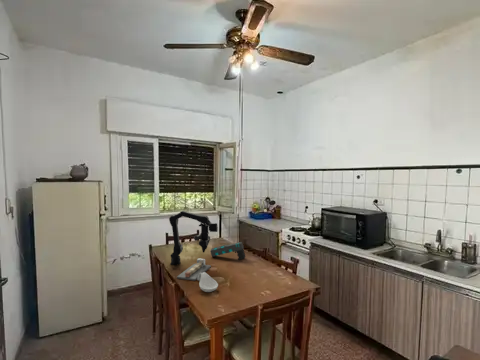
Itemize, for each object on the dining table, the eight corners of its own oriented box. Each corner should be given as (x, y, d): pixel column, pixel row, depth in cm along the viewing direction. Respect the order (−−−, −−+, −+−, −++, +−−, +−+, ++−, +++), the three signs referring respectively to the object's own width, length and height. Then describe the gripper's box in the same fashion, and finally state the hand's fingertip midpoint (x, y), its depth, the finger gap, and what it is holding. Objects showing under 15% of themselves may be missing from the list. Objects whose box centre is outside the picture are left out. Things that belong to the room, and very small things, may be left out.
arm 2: (200, 266, 202) (200, 263, 202) (201, 266, 202) (201, 263, 202) (186, 276, 181) (186, 273, 181) (188, 277, 181) (188, 273, 181)
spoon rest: (220, 292, 162) (220, 281, 161) (202, 296, 156) (202, 284, 156) (208, 278, 183) (208, 268, 183) (191, 281, 178) (191, 271, 177)
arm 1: (198, 265, 203) (198, 262, 203) (199, 266, 202) (199, 263, 202) (185, 276, 181) (185, 273, 181) (186, 276, 181) (186, 273, 181)
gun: (245, 258, 221) (240, 241, 222) (213, 266, 228) (209, 249, 229) (246, 256, 227) (241, 239, 228) (216, 263, 234) (211, 247, 235)
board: (176, 278, 182) (176, 276, 182) (194, 265, 209) (194, 263, 209) (195, 280, 178) (195, 278, 178) (210, 266, 205) (210, 265, 205)
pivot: (200, 264, 208) (201, 261, 208) (204, 264, 207) (204, 262, 207) (198, 266, 203) (198, 263, 203) (201, 266, 202) (201, 264, 202)
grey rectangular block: (198, 264, 206) (198, 258, 206) (205, 265, 205) (205, 259, 205) (196, 265, 204) (196, 259, 203) (203, 266, 202) (203, 260, 202)
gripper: (197, 229, 220) (197, 247, 220) (192, 234, 201) (192, 254, 201) (210, 229, 219) (210, 247, 219) (206, 234, 200) (206, 254, 201)
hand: (204, 250), depth 210 cm, fingers open, 9 cm apart
